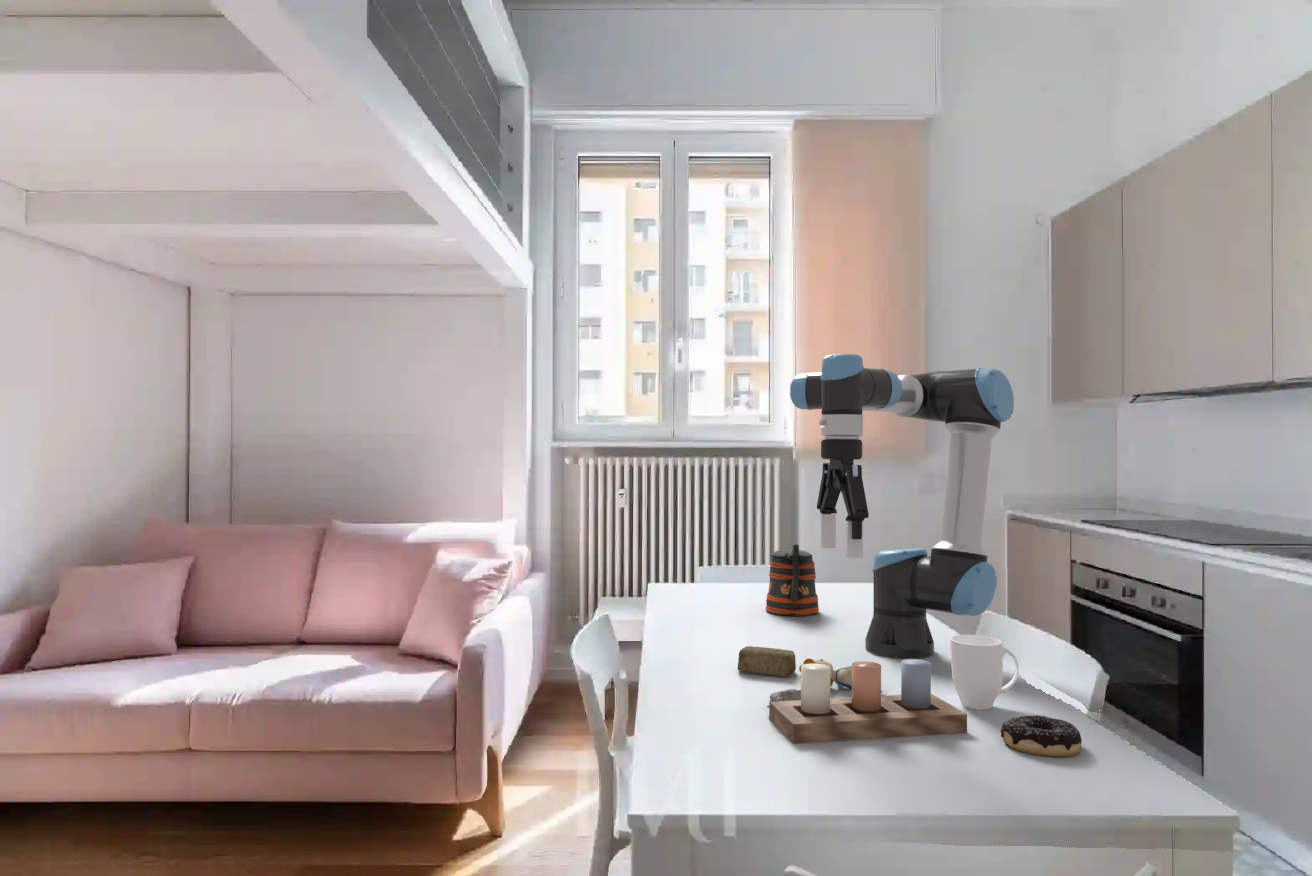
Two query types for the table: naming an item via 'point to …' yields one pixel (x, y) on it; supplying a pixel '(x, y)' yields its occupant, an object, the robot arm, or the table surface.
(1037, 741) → the donut
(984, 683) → the mug
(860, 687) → the cap terracotta
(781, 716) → the wooden compartment tray
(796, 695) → the stone
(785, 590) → the beer stein
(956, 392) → the robot arm
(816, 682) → the white rounded cylinder
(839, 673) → the toy
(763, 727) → the table surface
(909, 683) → the cap slate
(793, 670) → the stone block
